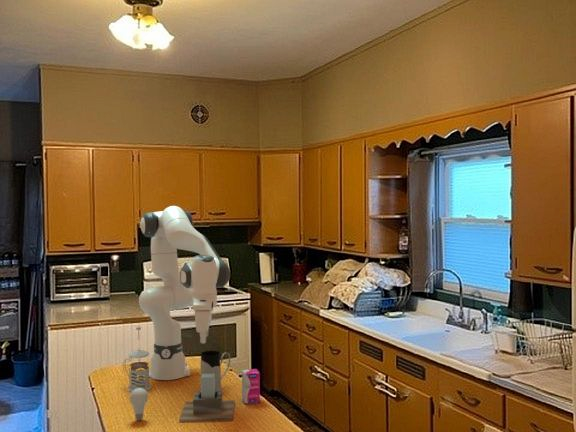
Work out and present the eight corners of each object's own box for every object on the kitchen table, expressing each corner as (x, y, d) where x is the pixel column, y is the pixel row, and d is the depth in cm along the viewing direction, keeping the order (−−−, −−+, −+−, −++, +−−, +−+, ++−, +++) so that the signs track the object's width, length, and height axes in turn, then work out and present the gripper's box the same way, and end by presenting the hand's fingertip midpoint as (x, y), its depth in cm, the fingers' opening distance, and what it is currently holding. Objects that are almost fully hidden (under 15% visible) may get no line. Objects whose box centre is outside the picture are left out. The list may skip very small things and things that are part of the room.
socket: (185, 404, 215) (185, 388, 215) (234, 402, 216) (234, 386, 216) (179, 422, 197) (179, 404, 197) (232, 420, 198) (232, 403, 198)
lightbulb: (150, 416, 203) (149, 385, 203) (146, 423, 197) (145, 390, 196) (132, 417, 203) (131, 385, 202) (128, 423, 196) (127, 391, 196)
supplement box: (244, 405, 214) (244, 373, 214) (241, 399, 220) (241, 369, 219) (260, 403, 215) (260, 372, 215) (256, 398, 221) (256, 368, 221)
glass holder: (195, 390, 231) (194, 353, 231) (223, 382, 241) (222, 346, 241) (208, 395, 225) (208, 357, 224) (237, 387, 235) (236, 350, 234)
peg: (202, 407, 209) (202, 373, 209) (215, 406, 209) (214, 373, 209) (201, 411, 204) (200, 377, 204) (214, 411, 205) (213, 377, 204)
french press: (145, 392, 229) (144, 329, 229) (118, 391, 231) (117, 328, 231) (155, 385, 239) (155, 324, 238) (129, 383, 241) (128, 323, 241)
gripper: (198, 296, 218) (198, 332, 219) (192, 306, 198) (192, 346, 198) (215, 295, 219) (215, 332, 219) (211, 306, 198) (210, 346, 199)
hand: (204, 339), depth 208 cm, fingers open, 8 cm apart
